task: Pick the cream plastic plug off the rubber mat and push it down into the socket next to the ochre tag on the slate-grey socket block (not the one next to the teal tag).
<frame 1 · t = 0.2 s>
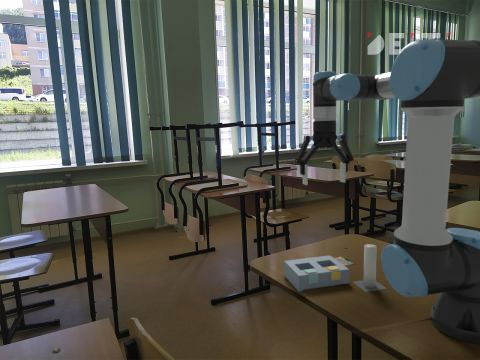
hand: (324, 183, 129), 28 cm above the table, fingers open, 13 cm apart
plug: (369, 285, 112), point 1 cm above the table, touching mat
socket block: (315, 280, 117), on the table
mat: (369, 287, 112), on the table
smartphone: (329, 266, 129), on the table
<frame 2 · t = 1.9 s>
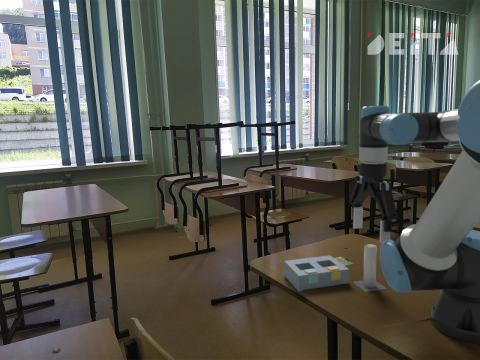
hand: (370, 234, 109), 16 cm above the table, fingers open, 13 cm apart
nothing on the table moved.
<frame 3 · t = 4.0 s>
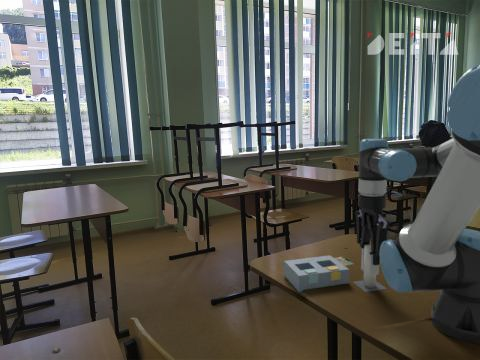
hand: (369, 271, 111), 5 cm above the table, fingers closed on plug, 3 cm apart
plug: (369, 285, 111), point 1 cm above the table, touching gripper, mat
everything else where it was.
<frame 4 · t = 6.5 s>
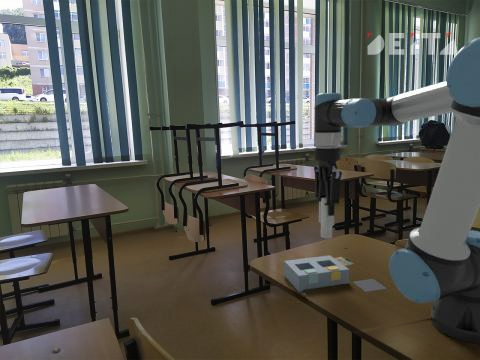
hand: (326, 223, 115), 18 cm above the table, fingers closed on plug, 3 cm apart
plug: (326, 236, 116), point 14 cm above the table, touching gripper
everything else where it was.
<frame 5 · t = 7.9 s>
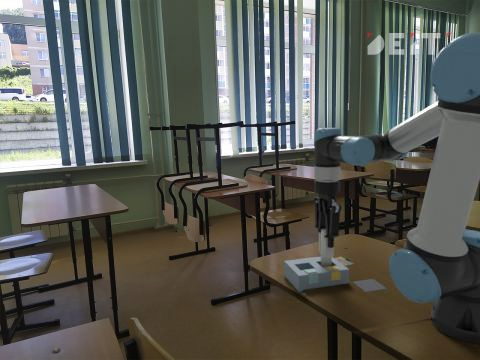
hand: (326, 254, 117), 8 cm above the table, fingers closed on plug, 3 cm apart
plug: (326, 267, 118), point 4 cm above the table, touching gripper
everything else where it was.
when the fingers open (6 cm above the table, at t = 9.1 s): plug drops 2 cm, resting on socket block.
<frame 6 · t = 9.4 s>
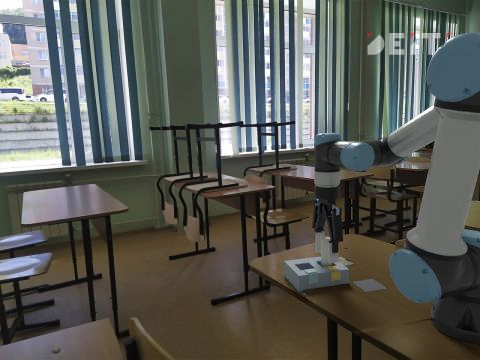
hand: (326, 256, 117), 7 cm above the table, fingers open, 8 cm apart
plug: (326, 275, 118), point 1 cm above the table, touching socket block
everything else where it was.
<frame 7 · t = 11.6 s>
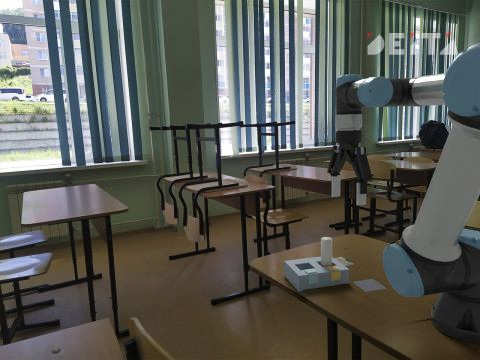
hand: (347, 200, 114), 25 cm above the table, fingers open, 13 cm apart
nothing on the table moved.
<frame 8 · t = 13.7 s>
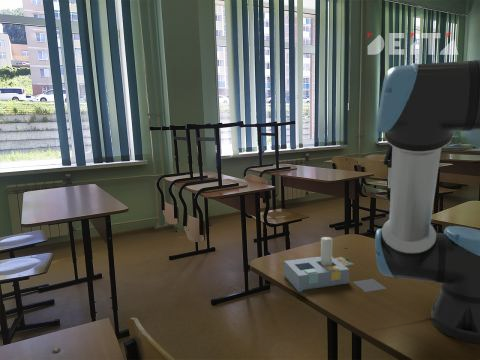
hand: (406, 191, 115), 27 cm above the table, fingers open, 13 cm apart
nothing on the table moved.
at the end: plug 0.1 cm from the target spot on the socket block, point 1.0 cm above the socket block's base; plug tilted 0°; the gripper is holding nothing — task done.
